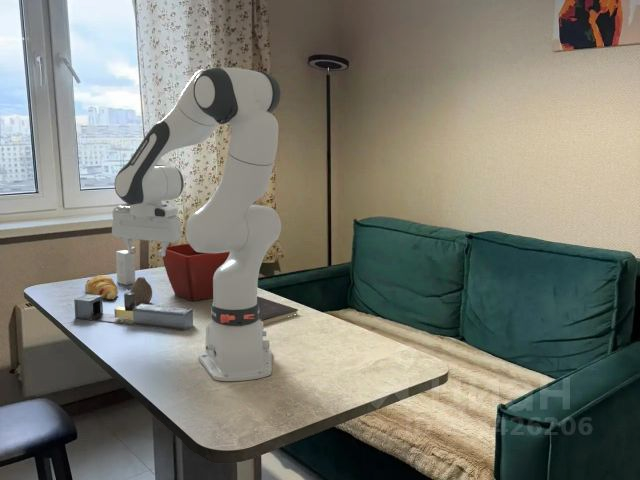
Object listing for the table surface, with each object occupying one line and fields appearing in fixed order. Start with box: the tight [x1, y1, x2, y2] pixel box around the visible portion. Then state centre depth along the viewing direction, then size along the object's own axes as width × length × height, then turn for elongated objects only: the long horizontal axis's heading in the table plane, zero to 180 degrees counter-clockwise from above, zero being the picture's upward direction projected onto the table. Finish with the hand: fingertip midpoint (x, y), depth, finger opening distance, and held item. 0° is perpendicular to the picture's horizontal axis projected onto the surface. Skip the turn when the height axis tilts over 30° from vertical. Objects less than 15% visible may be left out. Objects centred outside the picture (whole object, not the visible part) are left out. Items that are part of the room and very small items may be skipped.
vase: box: [130, 276, 153, 306], centre depth 191 cm, size 7×7×9 cm
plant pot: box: [160, 243, 230, 302], centre depth 202 cm, size 19×19×17 cm
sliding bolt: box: [114, 291, 137, 319], centre depth 172 cm, size 22×3×7 cm, turn 76°
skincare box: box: [115, 249, 136, 286], centre depth 216 cm, size 6×4×12 cm
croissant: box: [84, 274, 118, 300], centre depth 201 cm, size 21×10×8 cm, turn 43°
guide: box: [73, 293, 194, 332], centre depth 174 cm, size 36×6×6 cm, turn 76°
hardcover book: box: [257, 295, 299, 325], centre depth 187 cm, size 16×23×2 cm
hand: (146, 254), depth 169 cm, fingers open, 8 cm apart
